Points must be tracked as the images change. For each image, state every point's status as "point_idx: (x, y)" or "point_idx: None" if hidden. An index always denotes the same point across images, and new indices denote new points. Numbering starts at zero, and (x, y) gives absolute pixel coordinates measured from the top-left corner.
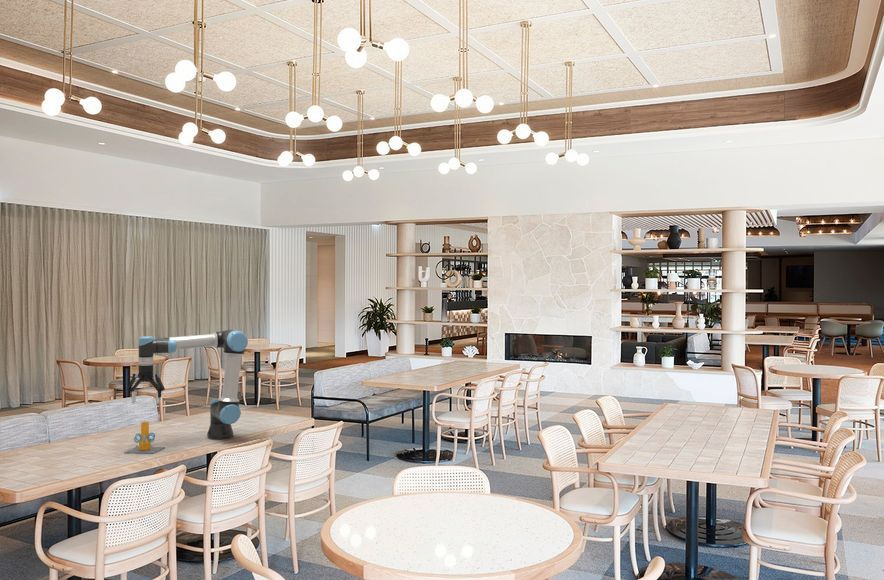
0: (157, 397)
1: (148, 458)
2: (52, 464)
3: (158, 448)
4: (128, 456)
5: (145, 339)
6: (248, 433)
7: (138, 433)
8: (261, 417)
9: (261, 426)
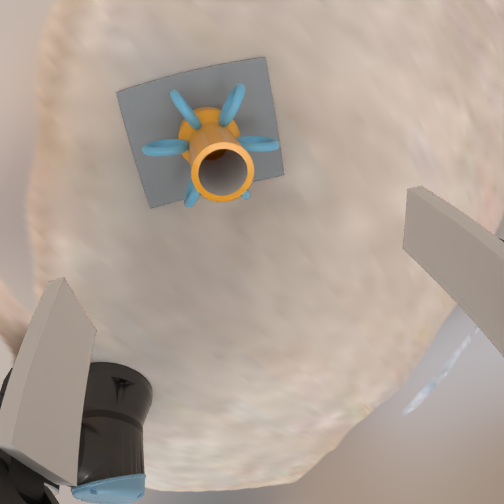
0: (17, 355)
1: (85, 20)
2: None
3: (157, 173)
4: (203, 12)
5: None
6: None
7: (259, 145)
8: (193, 482)
9: None
